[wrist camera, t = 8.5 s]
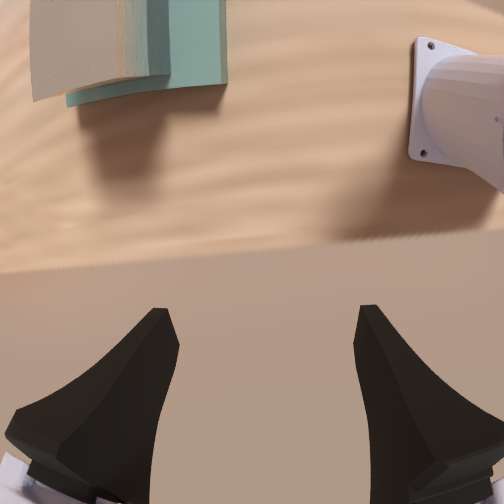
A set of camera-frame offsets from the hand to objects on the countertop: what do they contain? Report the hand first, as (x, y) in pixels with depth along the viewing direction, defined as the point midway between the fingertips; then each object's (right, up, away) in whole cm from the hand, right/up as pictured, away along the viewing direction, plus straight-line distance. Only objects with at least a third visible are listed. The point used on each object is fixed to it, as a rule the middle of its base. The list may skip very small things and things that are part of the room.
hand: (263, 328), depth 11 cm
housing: (-7, +16, +1) cm, 17 cm away
